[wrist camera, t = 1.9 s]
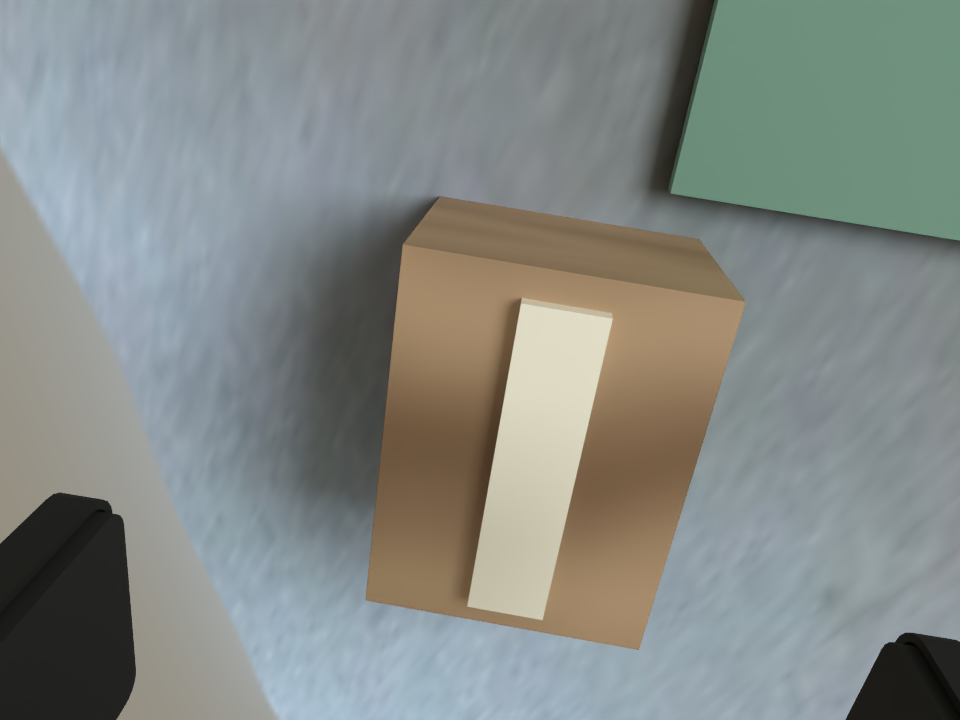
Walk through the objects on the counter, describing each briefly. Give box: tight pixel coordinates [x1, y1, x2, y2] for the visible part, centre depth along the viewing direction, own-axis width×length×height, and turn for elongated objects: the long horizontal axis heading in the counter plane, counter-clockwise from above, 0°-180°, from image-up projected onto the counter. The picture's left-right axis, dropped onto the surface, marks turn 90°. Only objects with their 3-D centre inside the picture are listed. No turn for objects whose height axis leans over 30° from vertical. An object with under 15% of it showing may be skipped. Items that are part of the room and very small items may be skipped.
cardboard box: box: [366, 196, 746, 650], centre depth 16 cm, size 8×6×5 cm
